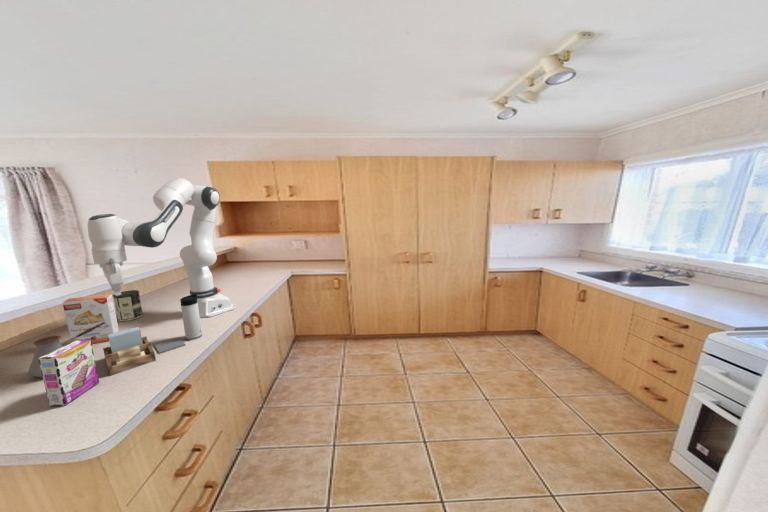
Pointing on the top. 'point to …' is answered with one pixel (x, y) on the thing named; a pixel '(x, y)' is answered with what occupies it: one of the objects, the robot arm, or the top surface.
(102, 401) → the top surface
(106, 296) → the cracker box
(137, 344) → the board
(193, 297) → the travel mug
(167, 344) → the mat
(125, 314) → the coffee can
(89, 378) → the candy bar box
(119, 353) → the upper offcut
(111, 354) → the rack
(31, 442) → the top surface
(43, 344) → the coffee pot
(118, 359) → the block
